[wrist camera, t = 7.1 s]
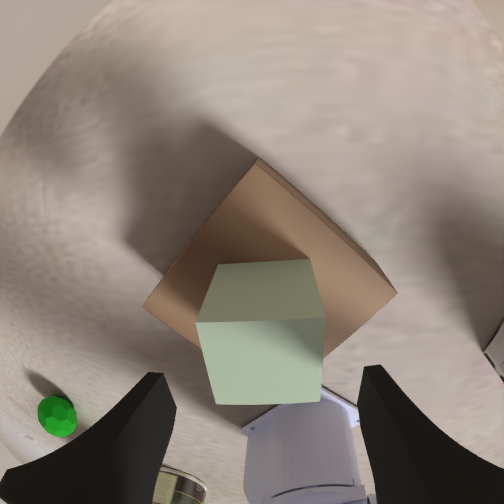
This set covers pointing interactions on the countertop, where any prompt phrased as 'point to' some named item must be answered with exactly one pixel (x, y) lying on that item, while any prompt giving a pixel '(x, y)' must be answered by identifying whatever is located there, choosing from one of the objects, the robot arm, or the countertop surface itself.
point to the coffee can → (178, 488)
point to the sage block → (263, 333)
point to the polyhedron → (57, 416)
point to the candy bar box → (497, 351)
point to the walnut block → (273, 257)
